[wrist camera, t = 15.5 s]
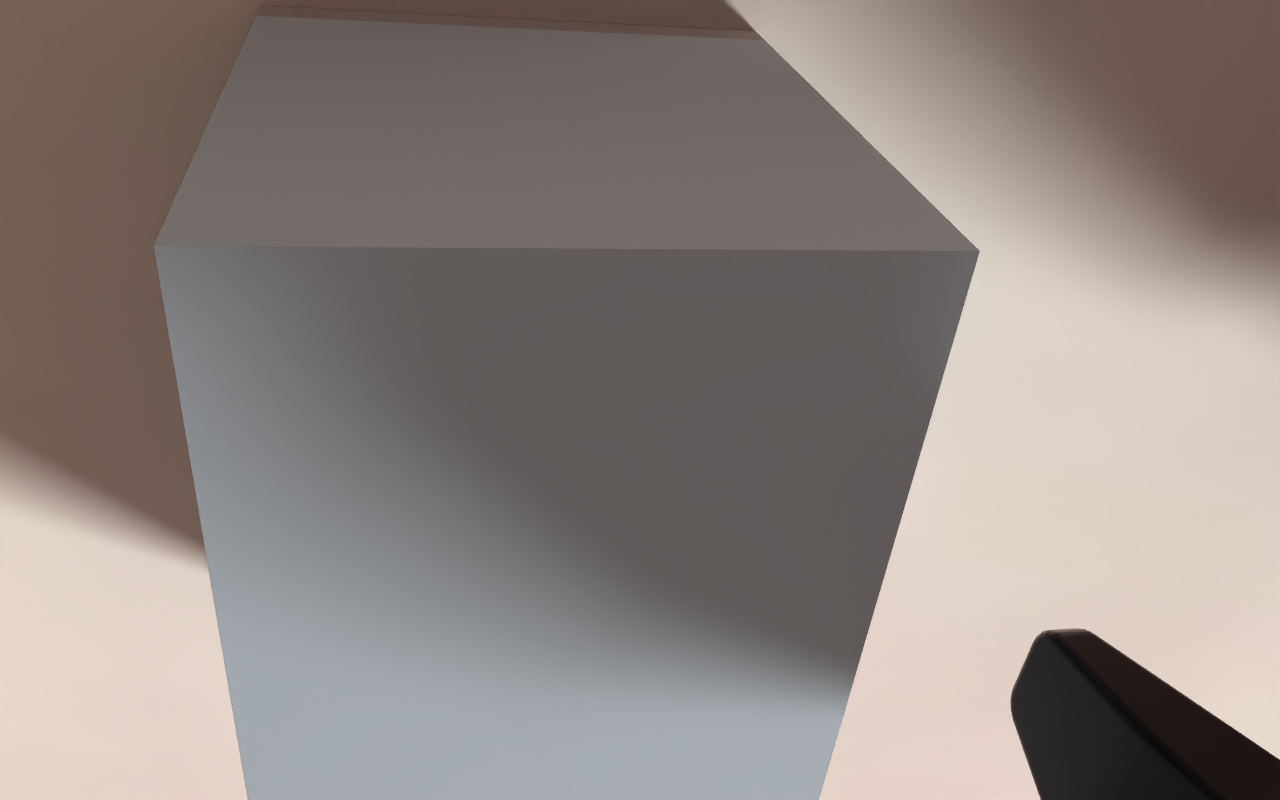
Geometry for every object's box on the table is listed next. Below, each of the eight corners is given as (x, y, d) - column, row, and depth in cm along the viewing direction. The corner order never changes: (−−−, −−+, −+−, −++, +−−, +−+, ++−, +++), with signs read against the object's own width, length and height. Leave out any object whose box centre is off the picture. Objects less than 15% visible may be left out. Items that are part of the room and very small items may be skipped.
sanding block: (671, 581, 16) (777, 939, 11) (319, 602, 15) (282, 1006, 10) (751, 27, 11) (978, 250, 7) (261, 3, 10) (152, 246, 6)
